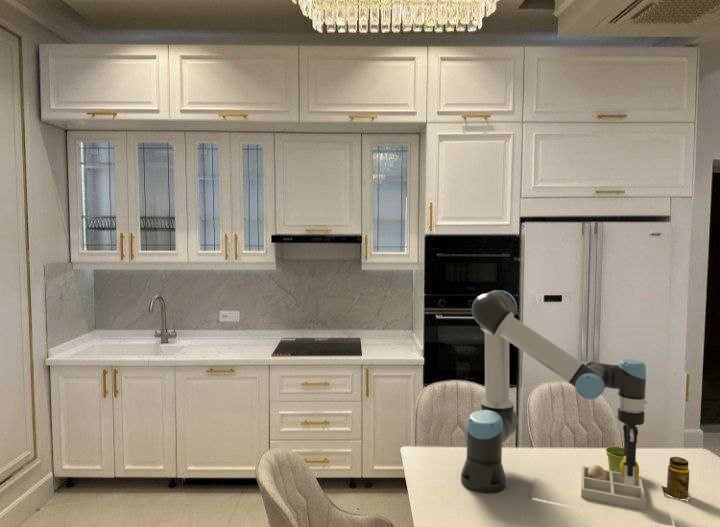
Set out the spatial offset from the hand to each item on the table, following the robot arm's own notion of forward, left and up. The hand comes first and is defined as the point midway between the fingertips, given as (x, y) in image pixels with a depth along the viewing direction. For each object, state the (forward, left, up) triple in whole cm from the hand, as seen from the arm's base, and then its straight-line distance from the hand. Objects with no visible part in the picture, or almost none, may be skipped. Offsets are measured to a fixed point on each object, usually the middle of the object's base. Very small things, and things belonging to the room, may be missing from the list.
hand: (628, 480), depth 165 cm
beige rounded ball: (-9, +9, -6) cm, 14 cm away
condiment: (+14, +12, -7) cm, 20 cm away
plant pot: (-2, +19, -7) cm, 21 cm away
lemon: (0, 0, 0) cm, 0 cm away
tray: (-5, +4, -7) cm, 9 cm away
